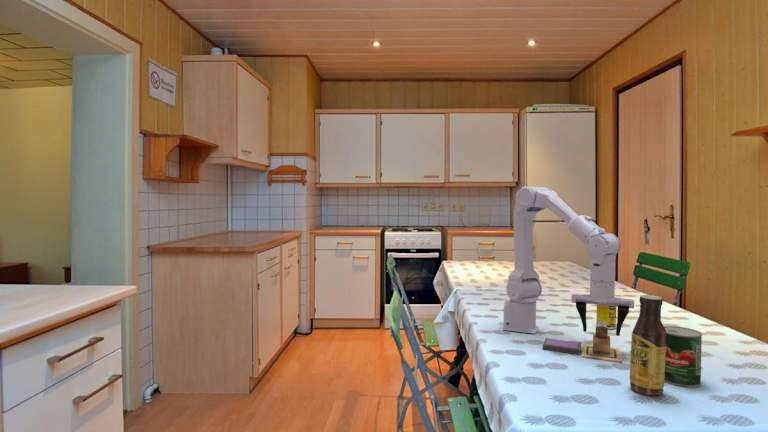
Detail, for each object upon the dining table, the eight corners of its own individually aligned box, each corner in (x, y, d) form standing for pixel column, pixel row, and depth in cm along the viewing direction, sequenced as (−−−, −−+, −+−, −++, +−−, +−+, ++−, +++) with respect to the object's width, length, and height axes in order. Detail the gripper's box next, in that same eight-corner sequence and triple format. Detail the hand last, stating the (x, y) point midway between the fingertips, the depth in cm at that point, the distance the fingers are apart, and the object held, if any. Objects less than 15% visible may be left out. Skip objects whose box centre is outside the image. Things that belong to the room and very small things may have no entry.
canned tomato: (694, 376, 103) (695, 327, 102) (706, 389, 95) (707, 337, 95) (654, 371, 105) (655, 324, 105) (663, 384, 98) (664, 333, 97)
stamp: (592, 353, 117) (593, 328, 117) (592, 348, 120) (593, 324, 120) (610, 355, 115) (610, 330, 115) (609, 350, 119) (610, 326, 118)
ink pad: (542, 349, 120) (542, 344, 120) (545, 342, 127) (545, 337, 127) (579, 354, 117) (579, 349, 117) (580, 346, 123) (580, 341, 123)
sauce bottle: (623, 385, 97) (624, 293, 96) (650, 384, 98) (652, 292, 97) (642, 398, 91) (645, 299, 90) (672, 397, 91) (674, 299, 90)
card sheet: (581, 357, 115) (581, 355, 115) (582, 345, 124) (582, 343, 124) (621, 362, 111) (621, 361, 111) (619, 349, 121) (619, 348, 121)
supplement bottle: (609, 330, 138) (610, 297, 138) (592, 326, 143) (593, 294, 143) (619, 328, 141) (620, 295, 141) (602, 324, 146) (603, 292, 146)
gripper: (571, 280, 116) (570, 332, 117) (635, 285, 110) (634, 340, 111) (572, 276, 123) (571, 326, 123) (633, 281, 117) (632, 333, 117)
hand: (601, 332), depth 117 cm, fingers open, 7 cm apart
